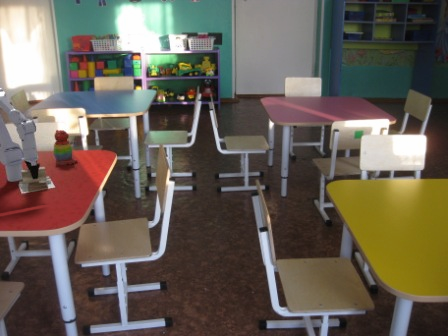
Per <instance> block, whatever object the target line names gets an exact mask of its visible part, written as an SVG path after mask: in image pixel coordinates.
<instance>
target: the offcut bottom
mask: <svg viewBox="0 0 448 336" xmlns="http://www.w3.org/2000/svg"><path fill="white" fill-rule="evenodd" d="M47 188H48V185H47V183H46V186H40V187H35V188H29V186H28V191H29V192H28V193H31V191H34V192H37V191H36V190H39V191H43V190H42V189H44V190H48V189H47Z"/></svg>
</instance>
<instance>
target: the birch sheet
mask: <svg viewBox="0 0 448 336" xmlns="http://www.w3.org/2000/svg"><path fill="white" fill-rule="evenodd" d="M21 174H22V181H23V184H27V183H32V182H38V181H44V180H47V177H48V176H47V171H46V167H45V166H40V167H39V171H38V179H33V178H32V176H31V173H30V170H29V169H28V168H27V169H23V170H21Z"/></svg>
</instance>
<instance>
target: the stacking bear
mask: <svg viewBox="0 0 448 336" xmlns="http://www.w3.org/2000/svg"><path fill="white" fill-rule="evenodd" d="M53 137H54V140H55V142H54V143H53V155H54V157H55V165H57V166H67V165H66V164H69V165H72V164H71V163H74V164H76V163H75V162H77V161H78V159H76V158H74V157H73V147H72V145H71V143H70V141H69V140H68V139H69V137H70V135H69V133H68V132H66V130H58V129H56V130H55V133H54V136H53ZM77 163H78V162H77Z"/></svg>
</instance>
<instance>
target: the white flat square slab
mask: <svg viewBox="0 0 448 336" xmlns="http://www.w3.org/2000/svg"><path fill="white" fill-rule="evenodd" d="M45 181H46V183H47V185H48V188H47V189H46V190H49V189H54V188H56V186H55V185H54V182H53V181H52V179H51V178H50V176H47V180H45ZM18 183H19V184H18V188H19V189H20V190H19V191H20V192H21V194H22V195H23V194H26V193H27V194H28V193H31V192H32V193H34V192H39V191H40V190H36V191H31V192H29V191H28V186H29V185H28V183H27V184H23V180H20V181H18ZM41 191H45V189H42V190H41Z"/></svg>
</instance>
